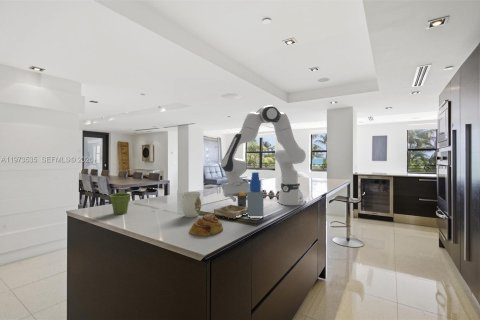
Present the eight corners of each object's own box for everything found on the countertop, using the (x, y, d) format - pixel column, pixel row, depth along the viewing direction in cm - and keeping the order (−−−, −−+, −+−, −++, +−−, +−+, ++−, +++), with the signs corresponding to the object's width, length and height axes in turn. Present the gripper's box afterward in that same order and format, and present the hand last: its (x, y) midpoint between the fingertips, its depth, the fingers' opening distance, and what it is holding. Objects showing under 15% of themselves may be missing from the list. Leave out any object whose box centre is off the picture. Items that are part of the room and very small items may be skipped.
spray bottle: (262, 214, 141) (262, 171, 140) (264, 219, 132) (263, 173, 131) (247, 214, 141) (247, 171, 140) (247, 219, 132) (247, 173, 131)
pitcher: (207, 212, 147) (207, 189, 147) (193, 220, 130) (193, 194, 129) (191, 211, 150) (191, 189, 150) (175, 218, 133) (175, 193, 133)
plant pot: (117, 216, 138) (116, 197, 138) (105, 214, 144) (105, 195, 144) (135, 212, 148) (135, 194, 148) (124, 210, 154) (123, 192, 154)
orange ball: (241, 197, 157) (241, 191, 157) (246, 197, 155) (246, 191, 155) (237, 198, 154) (237, 191, 154) (242, 198, 152) (242, 192, 152)
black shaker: (241, 207, 159) (241, 194, 158) (247, 209, 155) (247, 195, 155) (235, 209, 154) (235, 195, 154) (242, 210, 151) (242, 196, 151)
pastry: (228, 230, 114) (228, 213, 113) (202, 239, 103) (201, 220, 103) (210, 224, 123) (210, 209, 123) (184, 231, 112) (184, 214, 112)
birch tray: (230, 210, 152) (230, 204, 152) (250, 213, 143) (250, 207, 143) (214, 215, 140) (213, 209, 140) (234, 219, 131) (234, 213, 131)
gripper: (222, 181, 157) (227, 199, 148) (250, 179, 165) (257, 196, 157) (219, 187, 161) (225, 204, 152) (247, 185, 170) (253, 201, 161)
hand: (241, 200), depth 155 cm, fingers open, 8 cm apart
